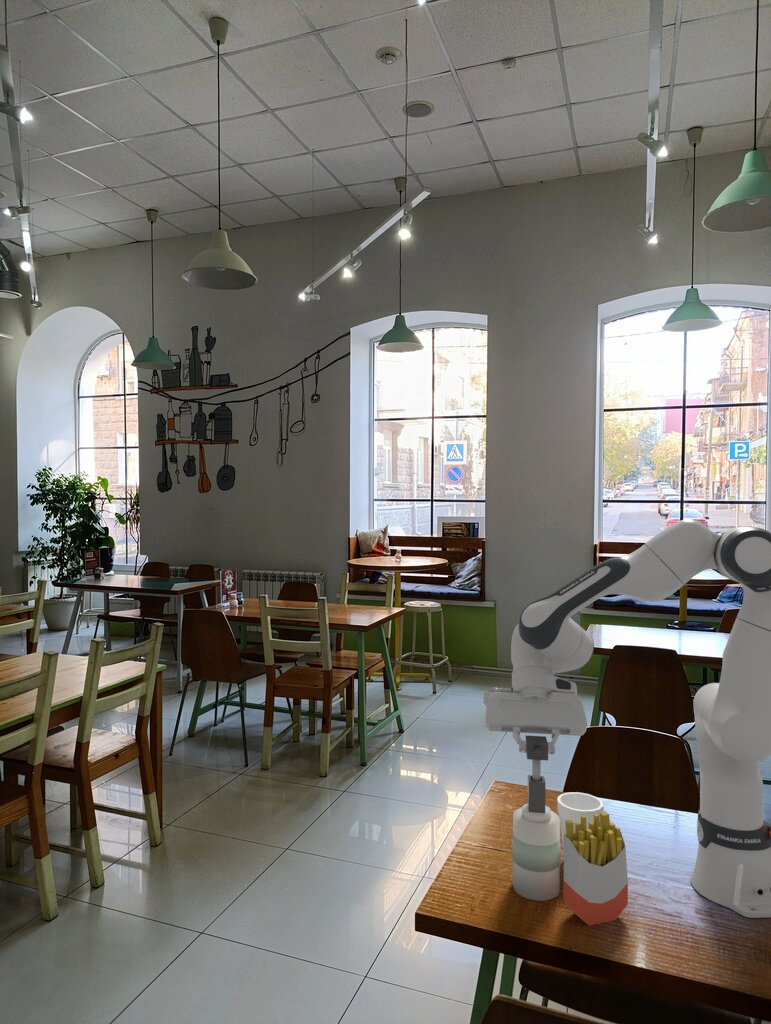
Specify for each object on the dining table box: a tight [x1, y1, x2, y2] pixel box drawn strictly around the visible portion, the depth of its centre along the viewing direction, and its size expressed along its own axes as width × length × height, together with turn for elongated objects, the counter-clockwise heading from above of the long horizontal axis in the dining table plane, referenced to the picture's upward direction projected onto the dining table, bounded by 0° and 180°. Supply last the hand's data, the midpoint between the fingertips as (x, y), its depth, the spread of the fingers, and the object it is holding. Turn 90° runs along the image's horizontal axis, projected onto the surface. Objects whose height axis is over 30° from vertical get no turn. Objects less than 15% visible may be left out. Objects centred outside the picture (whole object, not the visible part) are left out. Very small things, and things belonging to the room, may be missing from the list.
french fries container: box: [563, 810, 629, 926], centre depth 122 cm, size 5×11×18 cm, turn 107°
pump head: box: [524, 735, 549, 781], centre depth 130 cm, size 4×9×9 cm, turn 172°
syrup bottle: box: [511, 774, 561, 902], centre depth 131 cm, size 9×9×22 cm
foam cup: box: [556, 791, 605, 852], centre depth 141 cm, size 10×9×13 cm
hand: (536, 752), depth 131 cm, fingers closed on pump head, 4 cm apart
